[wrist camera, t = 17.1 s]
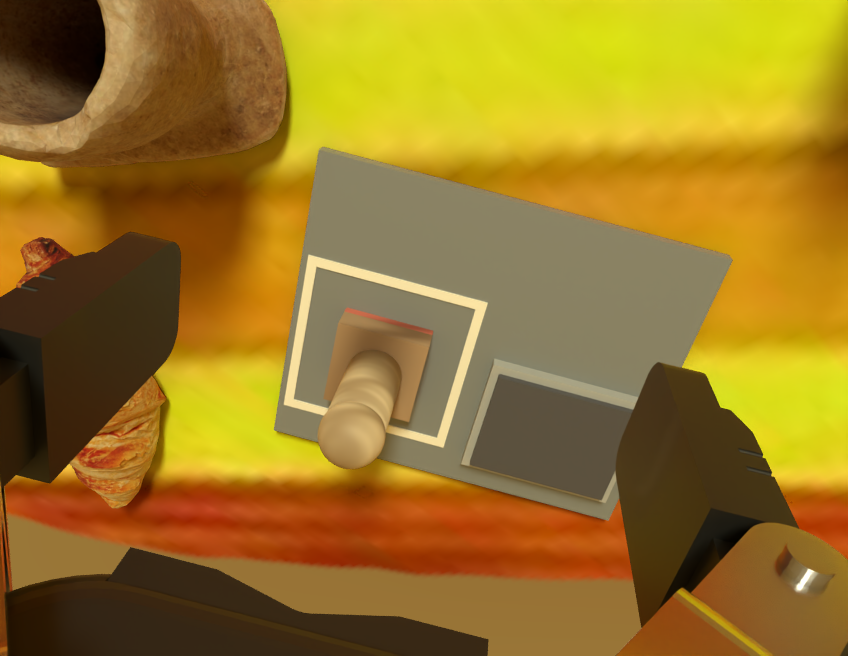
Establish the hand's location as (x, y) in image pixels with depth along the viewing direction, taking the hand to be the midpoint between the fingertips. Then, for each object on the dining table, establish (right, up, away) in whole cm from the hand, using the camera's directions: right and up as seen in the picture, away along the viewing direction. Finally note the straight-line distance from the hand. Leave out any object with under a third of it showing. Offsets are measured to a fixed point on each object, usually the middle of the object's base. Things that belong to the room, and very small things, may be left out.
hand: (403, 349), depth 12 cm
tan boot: (-14, +16, +27) cm, 35 cm away
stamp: (-2, -1, +33) cm, 33 cm away
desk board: (+4, -1, +33) cm, 33 cm away
